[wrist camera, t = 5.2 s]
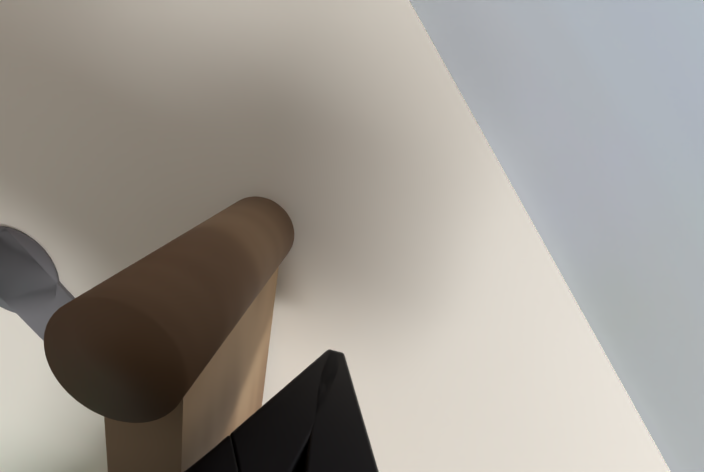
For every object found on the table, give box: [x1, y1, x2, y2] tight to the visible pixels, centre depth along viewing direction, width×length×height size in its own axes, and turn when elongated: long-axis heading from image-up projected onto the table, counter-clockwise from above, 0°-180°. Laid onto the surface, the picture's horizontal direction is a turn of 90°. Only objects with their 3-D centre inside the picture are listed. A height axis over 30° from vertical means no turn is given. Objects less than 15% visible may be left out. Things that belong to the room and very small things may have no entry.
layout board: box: [0, 0, 671, 472], centre depth 12 cm, size 25×24×1 cm
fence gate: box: [44, 196, 294, 472], centre depth 8 cm, size 10×2×5 cm, turn 170°
